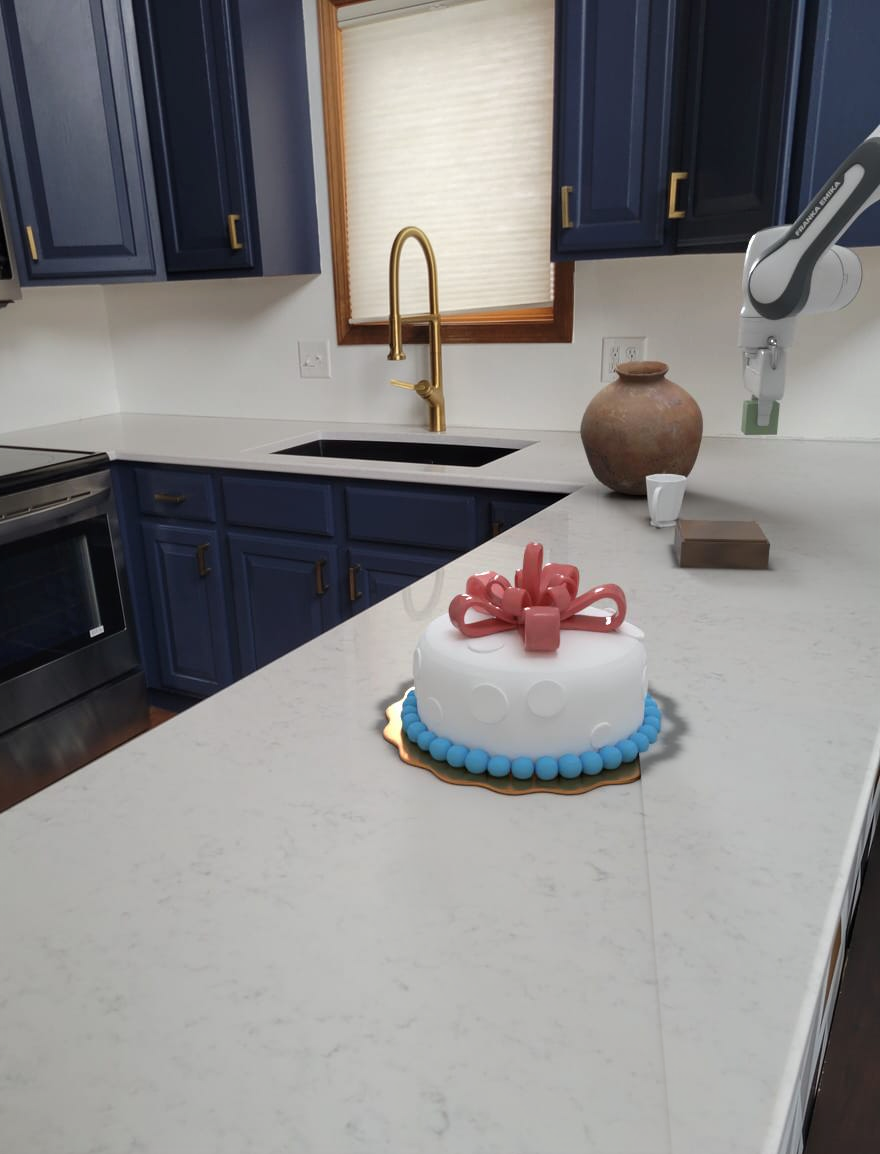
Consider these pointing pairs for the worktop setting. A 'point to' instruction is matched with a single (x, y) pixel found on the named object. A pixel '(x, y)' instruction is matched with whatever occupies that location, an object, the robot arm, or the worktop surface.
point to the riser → (721, 544)
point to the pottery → (641, 428)
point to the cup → (665, 498)
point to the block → (750, 419)
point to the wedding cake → (528, 687)
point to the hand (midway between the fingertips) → (759, 422)
